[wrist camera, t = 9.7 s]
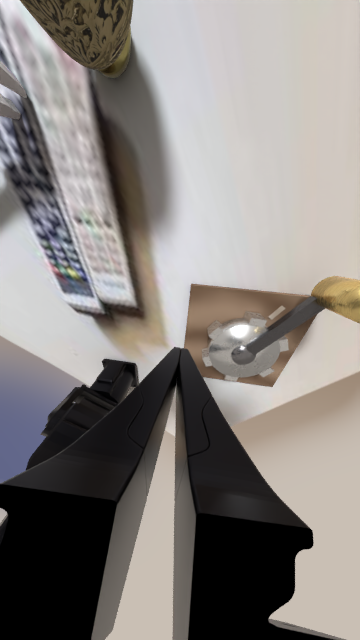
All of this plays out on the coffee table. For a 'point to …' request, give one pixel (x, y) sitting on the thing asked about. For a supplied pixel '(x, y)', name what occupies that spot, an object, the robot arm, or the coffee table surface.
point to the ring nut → (274, 330)
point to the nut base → (233, 304)
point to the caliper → (7, 78)
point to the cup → (88, 30)
